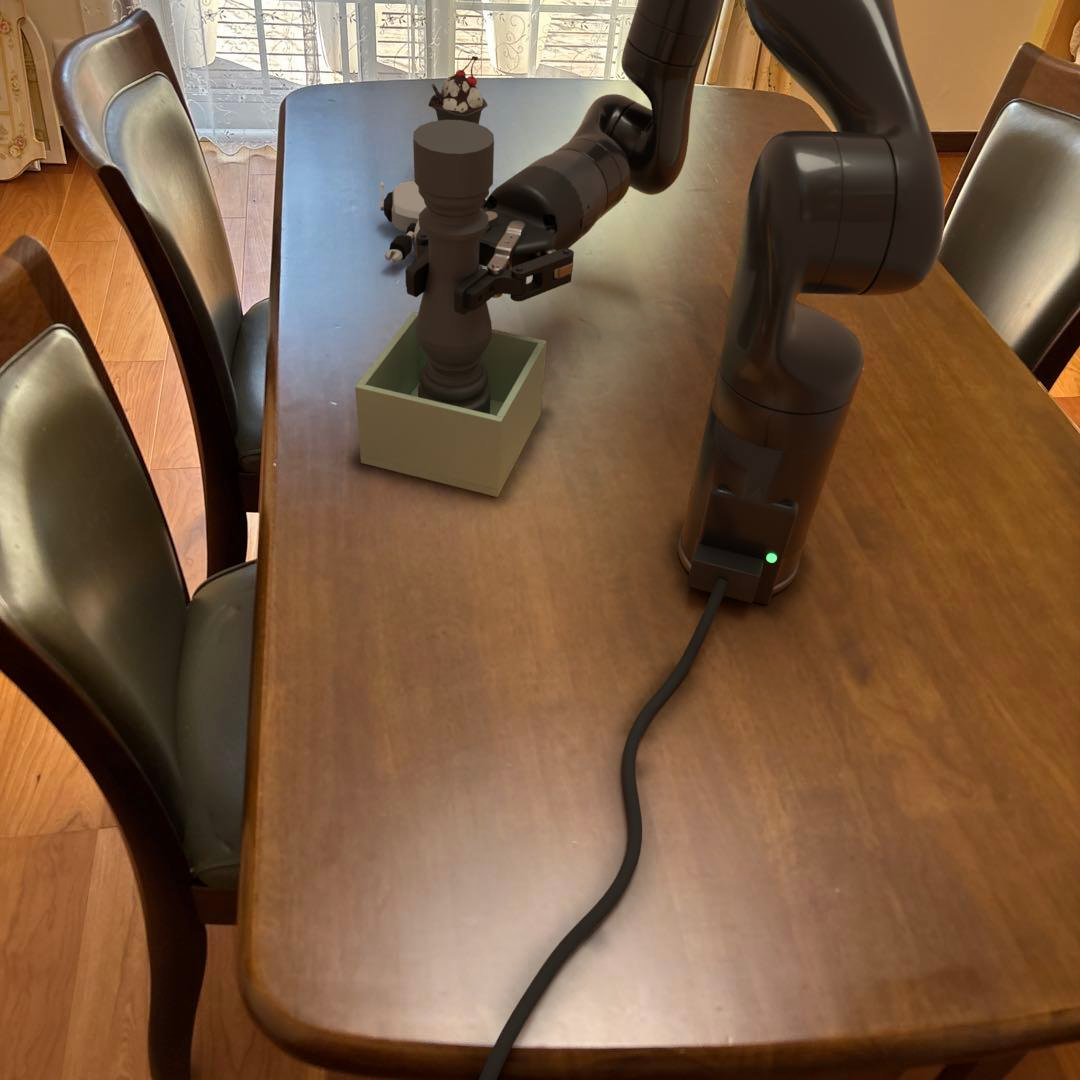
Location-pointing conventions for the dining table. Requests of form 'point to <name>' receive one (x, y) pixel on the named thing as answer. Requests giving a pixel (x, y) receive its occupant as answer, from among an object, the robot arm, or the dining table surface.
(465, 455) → the bin
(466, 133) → the candle holder
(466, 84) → the sundae
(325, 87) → the dining table surface
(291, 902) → the dining table surface
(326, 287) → the dining table surface
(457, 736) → the dining table surface
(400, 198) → the robot toy
